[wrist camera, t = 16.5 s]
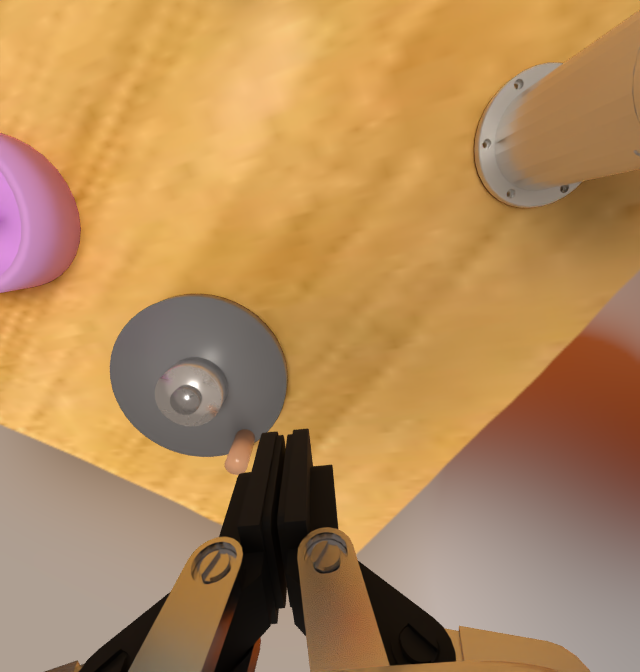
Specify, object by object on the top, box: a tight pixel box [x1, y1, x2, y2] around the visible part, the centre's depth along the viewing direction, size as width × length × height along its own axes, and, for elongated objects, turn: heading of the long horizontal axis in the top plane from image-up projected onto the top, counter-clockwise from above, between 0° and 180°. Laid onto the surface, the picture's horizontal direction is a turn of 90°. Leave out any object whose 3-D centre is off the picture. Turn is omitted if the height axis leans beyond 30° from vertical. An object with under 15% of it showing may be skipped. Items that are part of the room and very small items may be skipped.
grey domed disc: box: [110, 294, 287, 475], centre depth 36 cm, size 20×20×7 cm
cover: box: [155, 357, 228, 426], centre depth 36 cm, size 7×7×4 cm
